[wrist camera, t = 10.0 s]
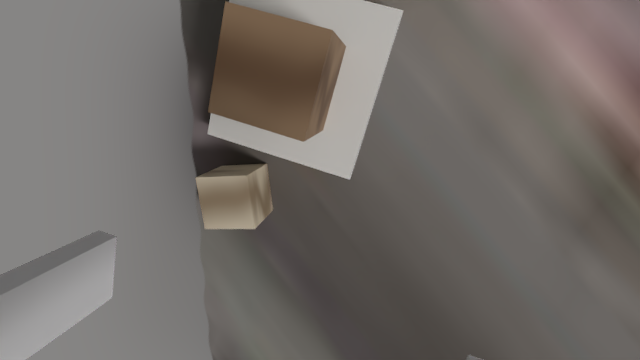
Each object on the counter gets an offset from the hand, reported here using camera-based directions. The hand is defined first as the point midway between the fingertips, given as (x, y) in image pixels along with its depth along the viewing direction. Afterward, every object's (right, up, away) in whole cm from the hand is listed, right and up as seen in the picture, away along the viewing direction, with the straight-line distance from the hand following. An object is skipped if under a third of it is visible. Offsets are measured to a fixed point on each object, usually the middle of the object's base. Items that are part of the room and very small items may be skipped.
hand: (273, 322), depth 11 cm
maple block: (-6, +4, +22) cm, 23 cm away
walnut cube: (0, +14, +16) cm, 21 cm away
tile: (0, +14, +18) cm, 23 cm away
